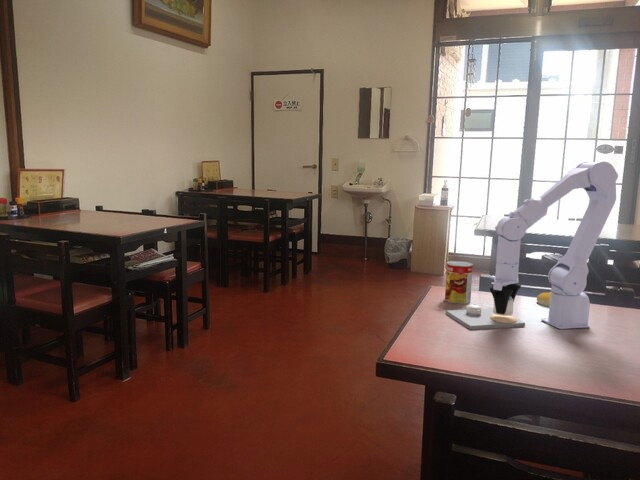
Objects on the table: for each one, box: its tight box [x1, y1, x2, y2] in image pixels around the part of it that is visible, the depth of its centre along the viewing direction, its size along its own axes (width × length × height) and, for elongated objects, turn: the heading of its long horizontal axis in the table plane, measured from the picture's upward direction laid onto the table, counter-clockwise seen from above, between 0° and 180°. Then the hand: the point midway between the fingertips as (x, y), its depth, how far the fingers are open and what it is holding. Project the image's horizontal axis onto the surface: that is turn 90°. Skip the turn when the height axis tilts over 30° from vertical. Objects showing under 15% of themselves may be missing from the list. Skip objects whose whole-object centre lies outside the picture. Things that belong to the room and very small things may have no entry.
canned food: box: [444, 260, 474, 305], centre depth 156 cm, size 8×8×12 cm
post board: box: [445, 304, 526, 330], centre depth 137 cm, size 16×14×3 cm
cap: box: [493, 297, 514, 316], centre depth 134 cm, size 5×5×5 cm
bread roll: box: [536, 291, 551, 307], centre depth 155 cm, size 8×9×4 cm
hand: (503, 311), depth 135 cm, fingers closed on cap, 5 cm apart
